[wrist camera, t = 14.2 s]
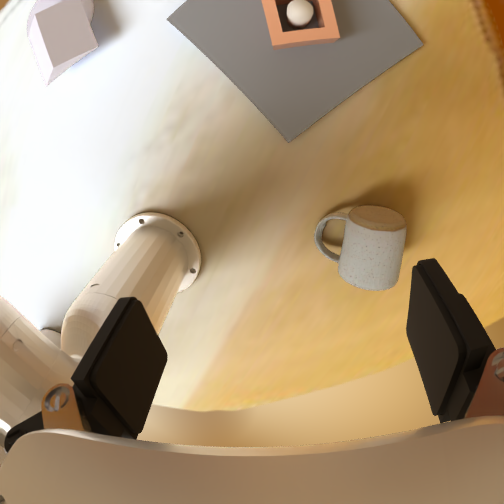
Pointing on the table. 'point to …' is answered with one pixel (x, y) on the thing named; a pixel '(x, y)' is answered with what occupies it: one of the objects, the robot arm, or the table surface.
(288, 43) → the square frame with post
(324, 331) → the table surface
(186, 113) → the table surface
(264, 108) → the base plate
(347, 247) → the ceramic mug
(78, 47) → the wedge on round base
